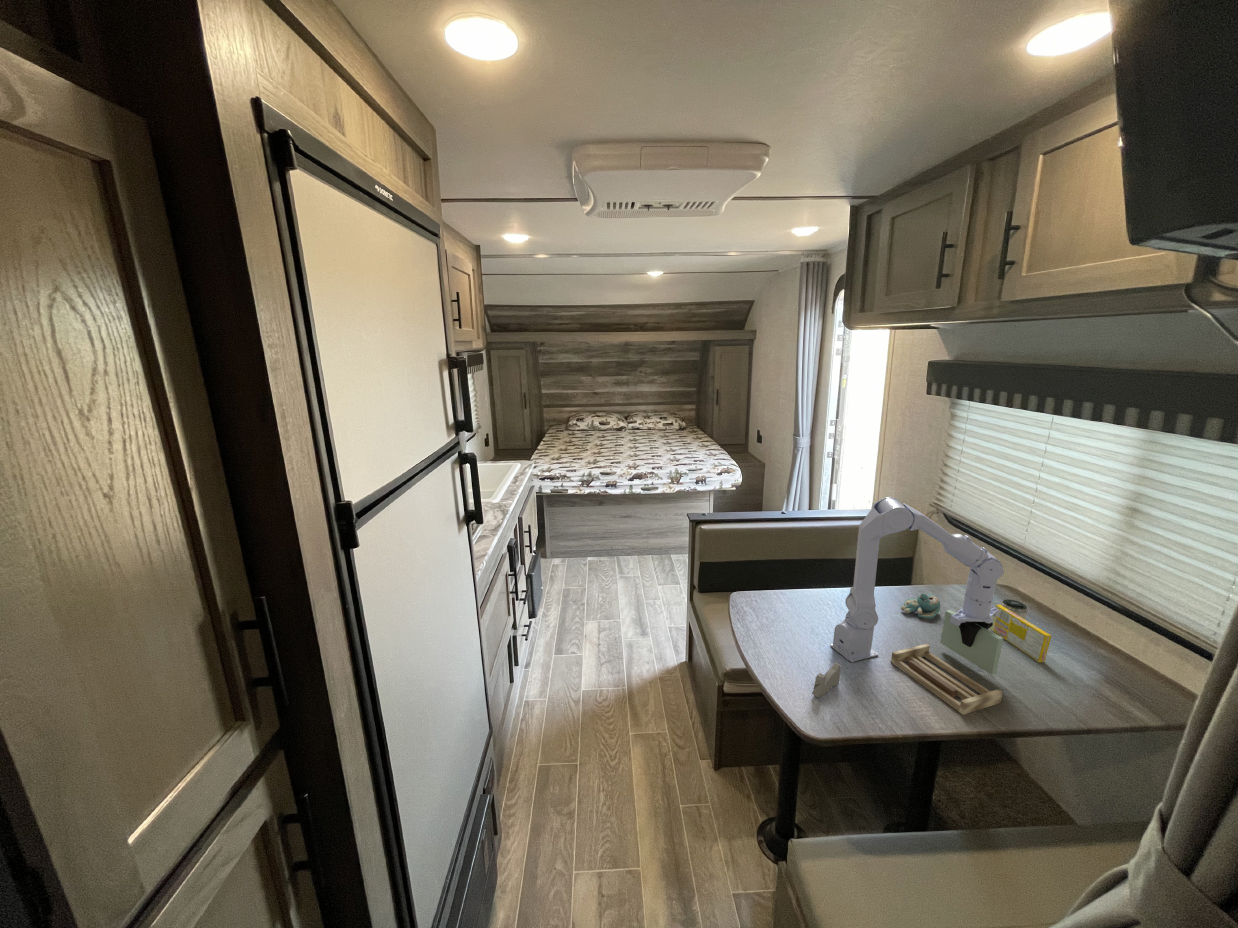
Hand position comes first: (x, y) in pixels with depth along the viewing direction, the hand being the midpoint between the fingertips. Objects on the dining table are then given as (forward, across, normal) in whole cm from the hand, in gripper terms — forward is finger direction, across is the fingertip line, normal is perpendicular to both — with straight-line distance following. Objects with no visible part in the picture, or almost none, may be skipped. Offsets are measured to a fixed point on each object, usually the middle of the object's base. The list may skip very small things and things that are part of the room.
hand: (969, 643), depth 127 cm
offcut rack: (+6, -11, -3) cm, 13 cm away
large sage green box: (+4, 0, 0) cm, 4 cm away
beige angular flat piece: (+6, -42, +3) cm, 43 cm away
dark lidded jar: (+6, +30, +9) cm, 32 cm away
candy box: (+6, +22, +2) cm, 23 cm away
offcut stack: (+6, -15, -3) cm, 17 cm away
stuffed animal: (+6, +11, +24) cm, 27 cm away
